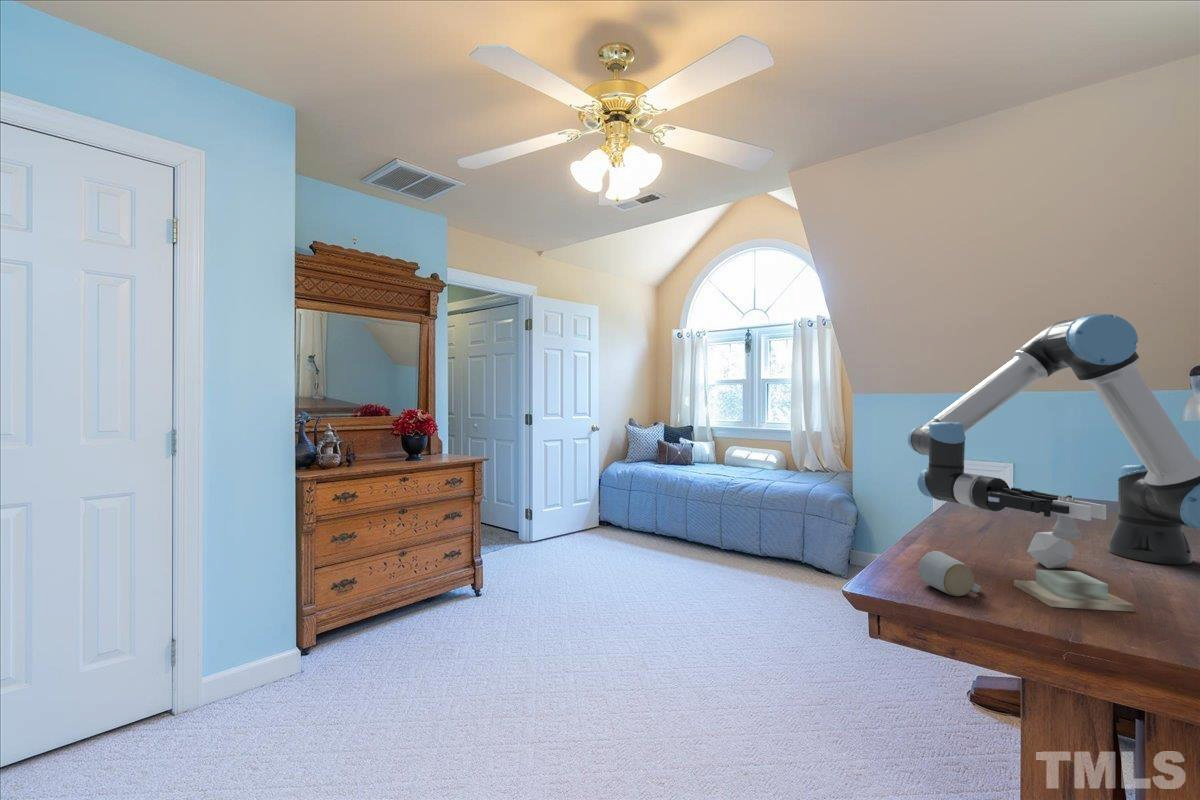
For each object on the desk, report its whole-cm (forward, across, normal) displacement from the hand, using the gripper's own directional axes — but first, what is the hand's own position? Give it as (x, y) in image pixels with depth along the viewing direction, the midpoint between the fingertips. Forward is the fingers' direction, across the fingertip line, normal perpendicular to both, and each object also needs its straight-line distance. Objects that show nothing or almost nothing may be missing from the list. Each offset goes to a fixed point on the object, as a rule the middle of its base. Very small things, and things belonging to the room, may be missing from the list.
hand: (1097, 512), depth 107 cm
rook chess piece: (-5, 0, -6) cm, 8 cm away
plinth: (-5, 0, -18) cm, 18 cm away
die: (-21, -19, -18) cm, 34 cm away
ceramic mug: (-14, +19, -18) cm, 30 cm away
